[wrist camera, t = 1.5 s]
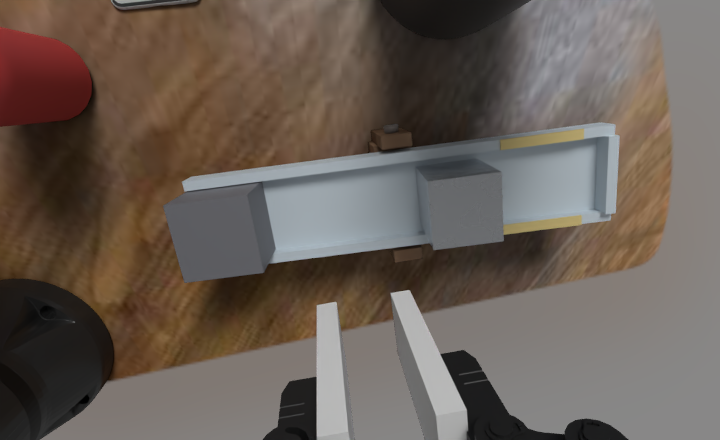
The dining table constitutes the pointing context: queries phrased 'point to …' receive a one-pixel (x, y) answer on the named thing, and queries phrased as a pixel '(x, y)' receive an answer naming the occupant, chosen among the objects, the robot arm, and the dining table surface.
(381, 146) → the fulcrum
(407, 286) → the dining table surface
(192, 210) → the beam
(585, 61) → the dining table surface
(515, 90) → the dining table surface
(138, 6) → the smartphone
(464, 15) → the vase
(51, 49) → the beer can
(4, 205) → the dining table surface
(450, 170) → the block
